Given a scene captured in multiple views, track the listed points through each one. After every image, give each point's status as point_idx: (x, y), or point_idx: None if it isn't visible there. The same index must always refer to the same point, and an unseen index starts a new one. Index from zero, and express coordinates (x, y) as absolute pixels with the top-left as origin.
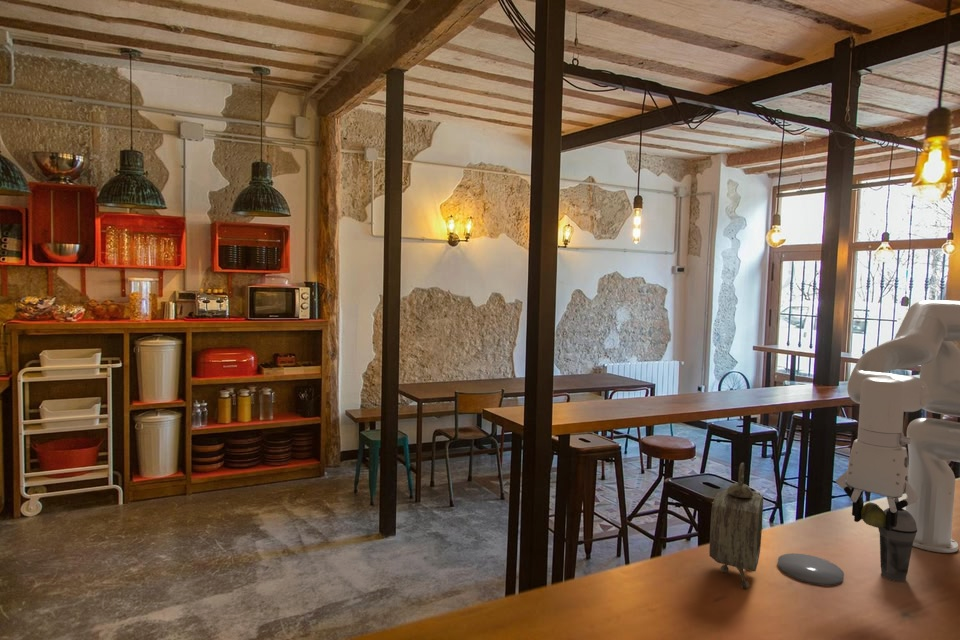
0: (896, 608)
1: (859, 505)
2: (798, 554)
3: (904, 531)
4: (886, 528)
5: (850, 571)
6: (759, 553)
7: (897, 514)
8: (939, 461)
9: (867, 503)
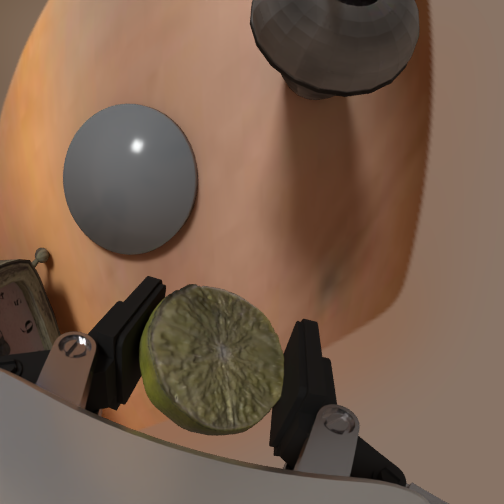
0: (313, 265)
1: (126, 397)
2: (90, 124)
3: (368, 91)
4: None
5: (209, 107)
6: (35, 276)
7: (334, 401)
8: None
9: (154, 401)
